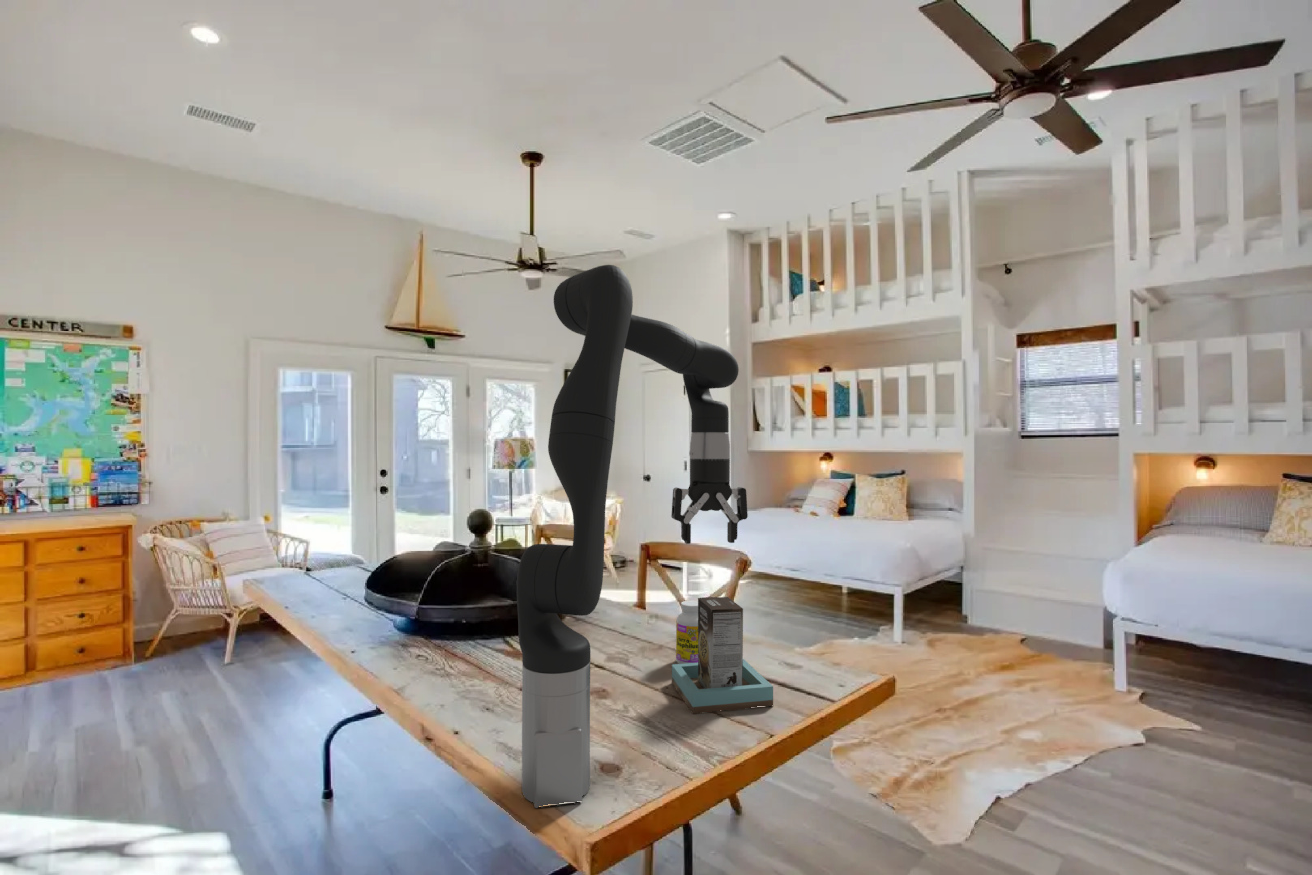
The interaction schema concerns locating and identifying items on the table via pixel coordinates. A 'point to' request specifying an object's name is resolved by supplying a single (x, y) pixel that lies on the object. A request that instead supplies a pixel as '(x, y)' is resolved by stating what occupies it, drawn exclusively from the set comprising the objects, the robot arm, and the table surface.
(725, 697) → the teal square tray
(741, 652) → the coffee box
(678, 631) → the supplement bottle
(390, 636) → the table surface
